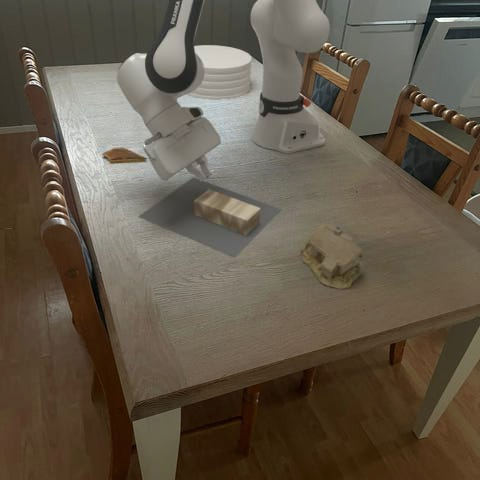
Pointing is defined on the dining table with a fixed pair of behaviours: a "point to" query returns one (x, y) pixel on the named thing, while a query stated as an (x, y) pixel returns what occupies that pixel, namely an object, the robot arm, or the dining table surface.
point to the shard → (123, 156)
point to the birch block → (227, 211)
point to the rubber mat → (199, 229)
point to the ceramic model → (332, 256)
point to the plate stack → (223, 72)
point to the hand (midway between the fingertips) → (206, 178)
